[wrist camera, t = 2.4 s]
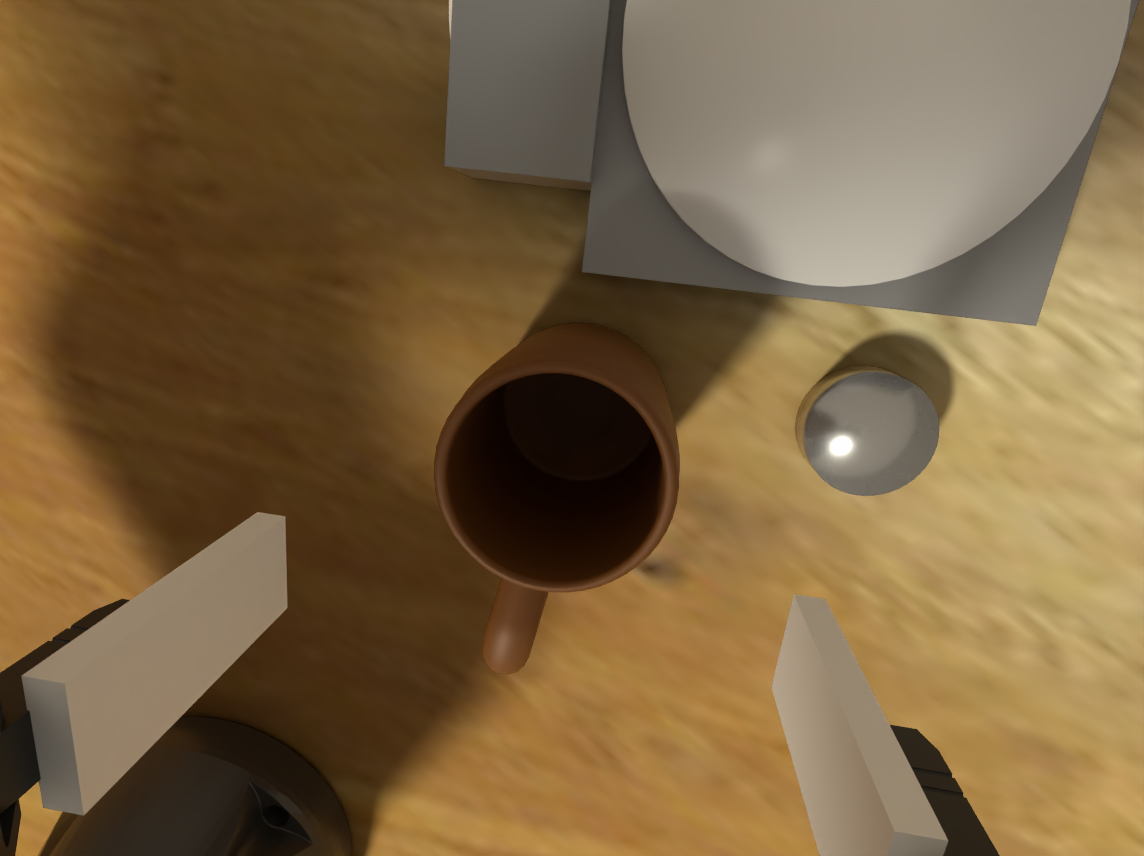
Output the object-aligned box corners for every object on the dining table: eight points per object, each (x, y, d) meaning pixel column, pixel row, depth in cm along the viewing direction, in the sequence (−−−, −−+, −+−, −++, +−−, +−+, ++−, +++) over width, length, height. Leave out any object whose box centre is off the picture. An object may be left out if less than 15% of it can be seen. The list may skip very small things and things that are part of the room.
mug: (609, 591, 30) (598, 739, 21) (455, 545, 30) (379, 672, 21) (692, 348, 27) (721, 400, 18) (518, 296, 27) (457, 322, 18)
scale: (460, 254, 26) (430, 255, 23) (488, -226, 22) (457, -326, 18) (990, 316, 25) (1053, 329, 21) (1136, -180, 21) (1250, -278, 17)
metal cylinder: (783, 470, 28) (794, 486, 26) (807, 357, 26) (821, 366, 25) (900, 486, 28) (920, 503, 26) (931, 372, 26) (954, 382, 24)
